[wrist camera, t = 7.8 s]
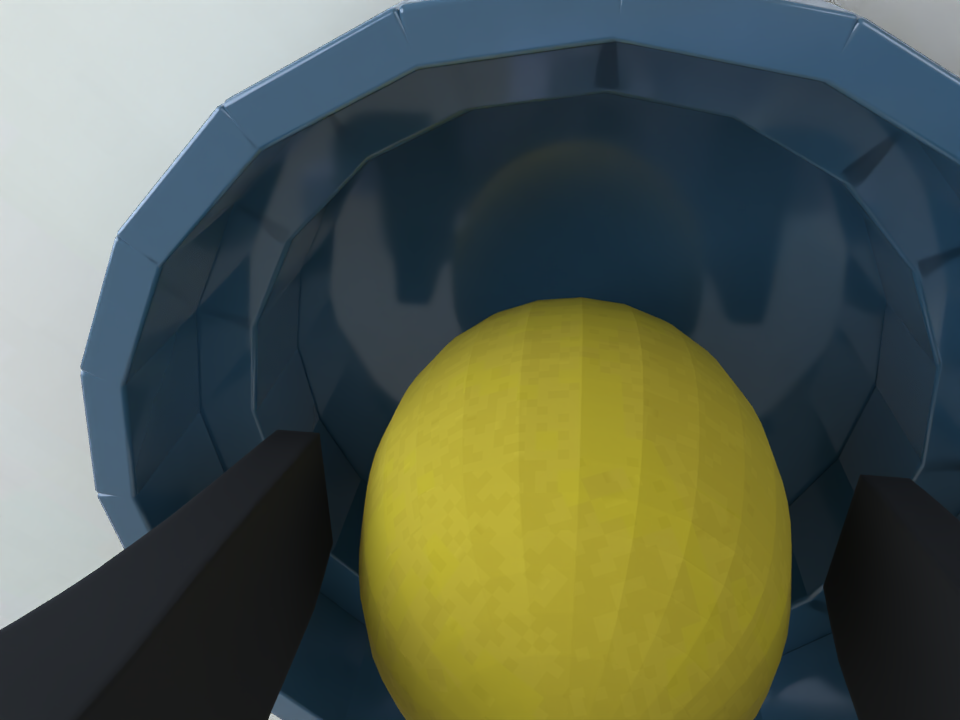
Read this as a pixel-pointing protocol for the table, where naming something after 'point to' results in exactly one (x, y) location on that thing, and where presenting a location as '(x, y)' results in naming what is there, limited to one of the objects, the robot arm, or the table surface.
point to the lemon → (575, 527)
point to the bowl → (546, 263)
